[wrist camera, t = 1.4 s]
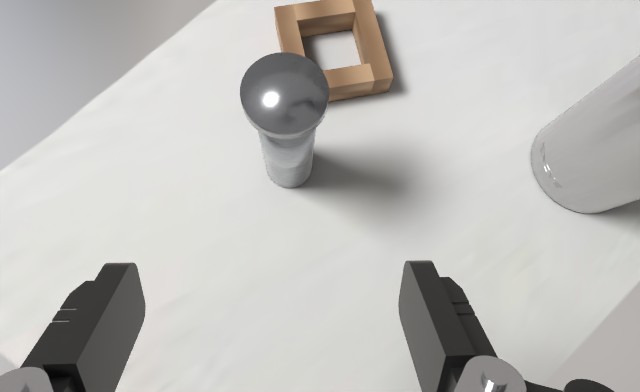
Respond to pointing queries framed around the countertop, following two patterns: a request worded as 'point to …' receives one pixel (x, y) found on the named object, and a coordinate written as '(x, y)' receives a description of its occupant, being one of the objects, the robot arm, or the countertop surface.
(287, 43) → the collar block
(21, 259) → the countertop surface
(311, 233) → the countertop surface
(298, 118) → the pin
